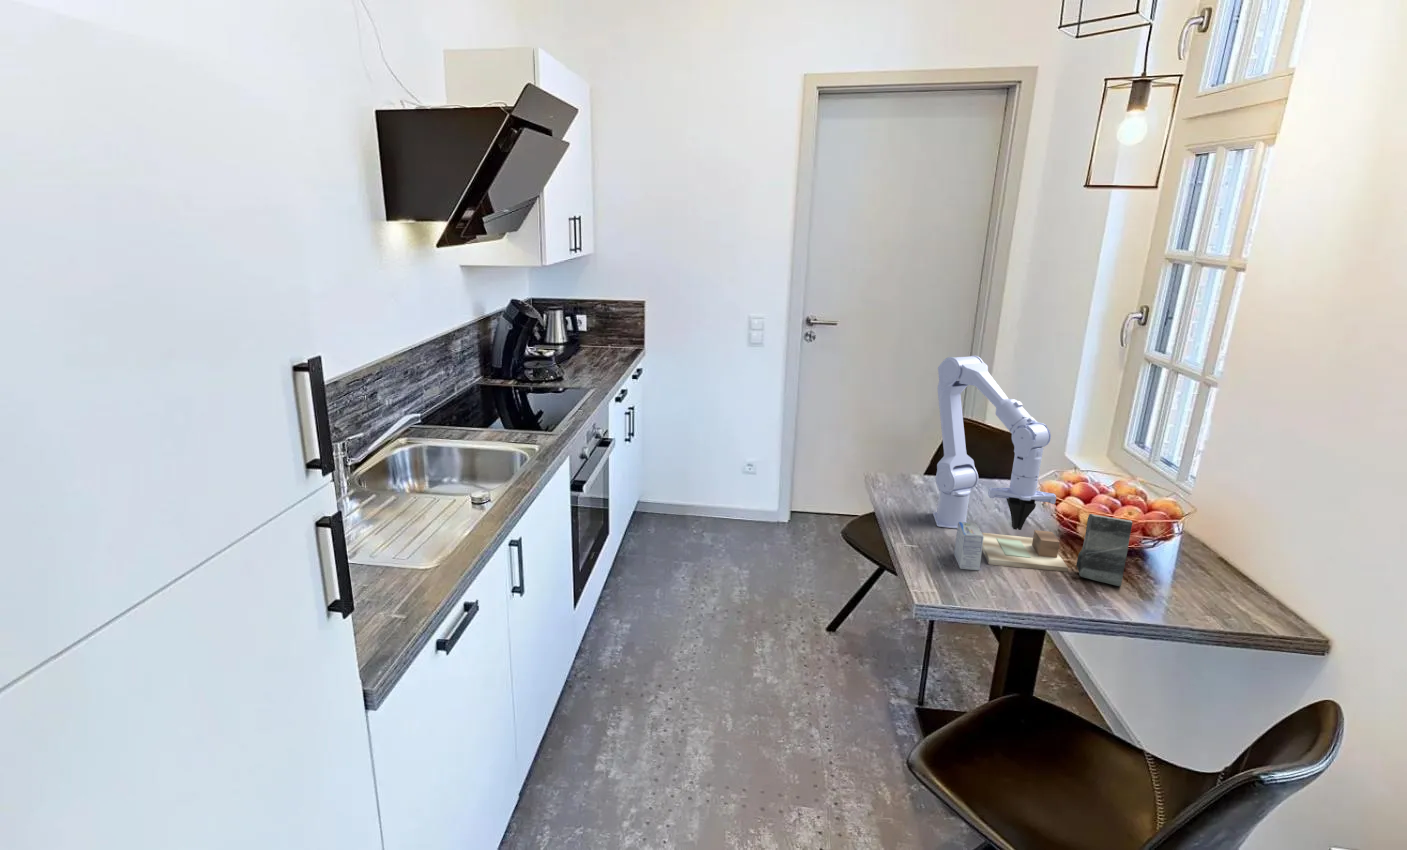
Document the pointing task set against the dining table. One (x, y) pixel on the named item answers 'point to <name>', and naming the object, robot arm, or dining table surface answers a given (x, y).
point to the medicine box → (968, 546)
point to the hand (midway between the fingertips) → (1016, 528)
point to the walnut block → (1045, 543)
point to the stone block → (1104, 549)
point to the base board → (1017, 553)
